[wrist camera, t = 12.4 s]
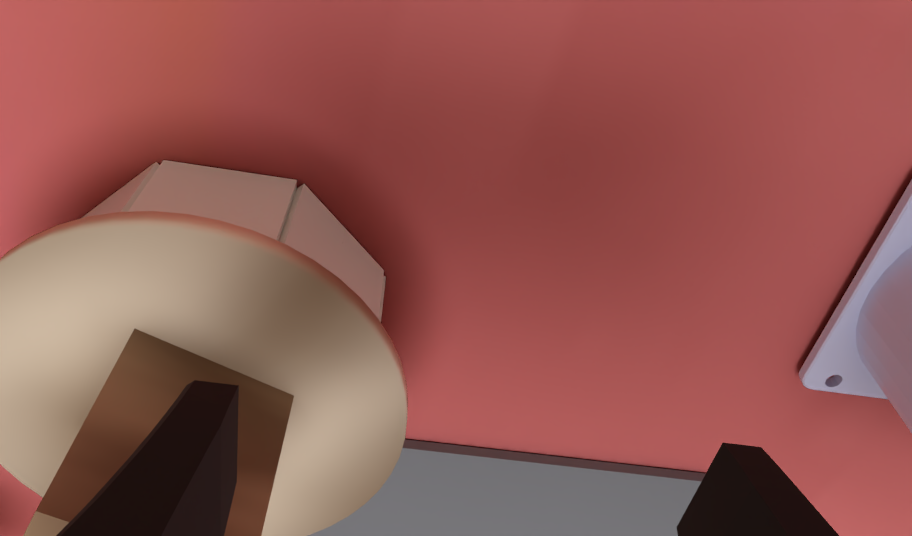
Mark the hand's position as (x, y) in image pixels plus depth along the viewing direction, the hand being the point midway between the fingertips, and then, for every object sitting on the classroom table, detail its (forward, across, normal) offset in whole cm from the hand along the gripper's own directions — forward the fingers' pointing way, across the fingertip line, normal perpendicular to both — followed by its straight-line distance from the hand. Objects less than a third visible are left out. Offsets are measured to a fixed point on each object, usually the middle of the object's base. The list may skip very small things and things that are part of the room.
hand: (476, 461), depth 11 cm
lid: (+6, +6, +6) cm, 11 cm away
